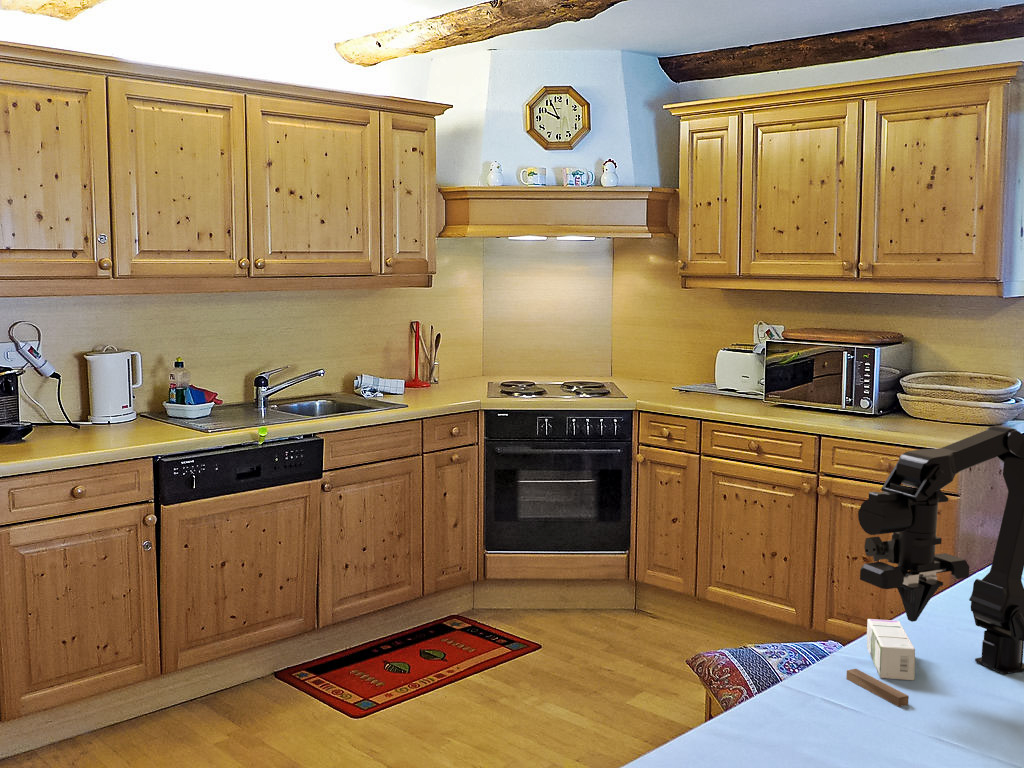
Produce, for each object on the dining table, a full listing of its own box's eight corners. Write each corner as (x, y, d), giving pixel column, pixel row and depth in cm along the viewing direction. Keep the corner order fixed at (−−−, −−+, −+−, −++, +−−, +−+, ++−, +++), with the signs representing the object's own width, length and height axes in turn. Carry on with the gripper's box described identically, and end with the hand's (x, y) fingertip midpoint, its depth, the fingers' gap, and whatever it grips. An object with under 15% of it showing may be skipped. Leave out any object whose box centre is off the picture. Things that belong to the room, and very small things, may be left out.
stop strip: (855, 677, 177) (856, 668, 177) (908, 704, 166) (908, 695, 166) (846, 678, 176) (846, 670, 176) (898, 706, 165) (899, 697, 165)
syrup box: (916, 648, 175) (901, 619, 189) (879, 646, 176) (867, 617, 190) (914, 681, 175) (899, 650, 189) (878, 678, 176) (865, 647, 190)
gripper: (923, 513, 182) (918, 599, 183) (839, 522, 174) (834, 612, 176) (974, 528, 172) (968, 619, 173) (887, 539, 164) (882, 634, 166)
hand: (912, 620), depth 172 cm, fingers closed
